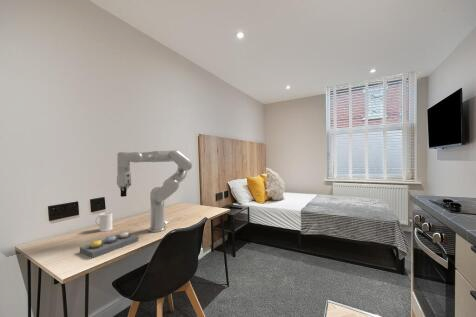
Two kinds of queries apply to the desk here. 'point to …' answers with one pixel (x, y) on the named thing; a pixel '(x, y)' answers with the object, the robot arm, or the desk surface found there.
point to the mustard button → (96, 243)
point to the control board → (108, 246)
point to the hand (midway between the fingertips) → (123, 196)
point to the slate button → (110, 238)
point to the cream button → (124, 234)
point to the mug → (105, 221)
